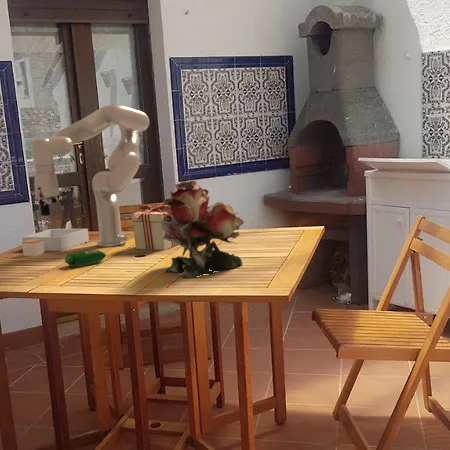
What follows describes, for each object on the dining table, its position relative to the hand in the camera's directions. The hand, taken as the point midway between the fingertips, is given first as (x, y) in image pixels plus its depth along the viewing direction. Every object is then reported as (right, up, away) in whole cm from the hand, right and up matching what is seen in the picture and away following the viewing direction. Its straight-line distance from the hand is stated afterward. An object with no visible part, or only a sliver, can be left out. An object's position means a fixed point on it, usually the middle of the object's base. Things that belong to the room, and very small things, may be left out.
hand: (50, 213), depth 258 cm
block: (0, -1, 0) cm, 1 cm away
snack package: (+19, -20, -19) cm, 33 cm away
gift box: (+43, -14, +5) cm, 46 cm away
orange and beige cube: (-9, -17, +9) cm, 21 cm away
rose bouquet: (+62, -19, -38) cm, 75 cm away
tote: (-4, -14, +25) cm, 28 cm away
